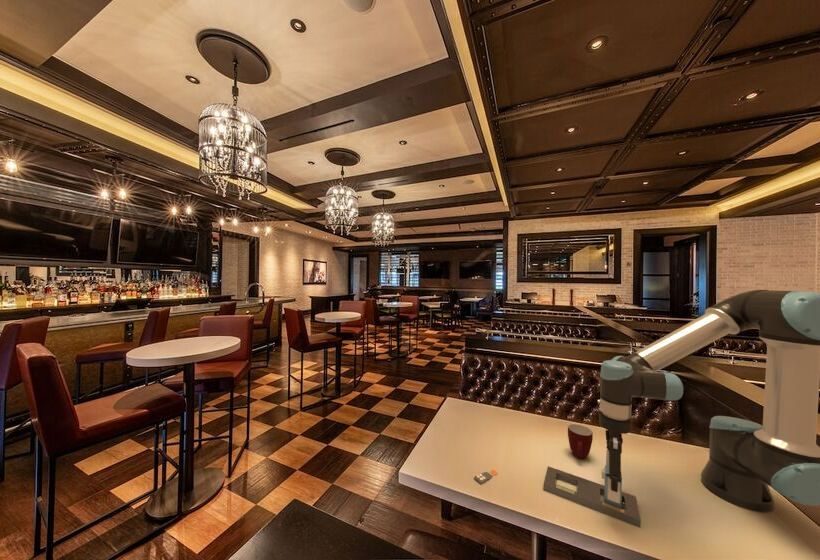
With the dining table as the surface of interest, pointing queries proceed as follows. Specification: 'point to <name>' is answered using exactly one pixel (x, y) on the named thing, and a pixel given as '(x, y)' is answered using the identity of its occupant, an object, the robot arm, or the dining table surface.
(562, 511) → the dining table surface
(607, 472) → the plug
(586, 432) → the mug
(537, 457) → the dining table surface
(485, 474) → the key chain
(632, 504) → the panel
